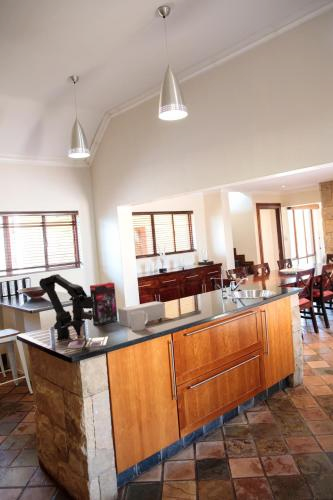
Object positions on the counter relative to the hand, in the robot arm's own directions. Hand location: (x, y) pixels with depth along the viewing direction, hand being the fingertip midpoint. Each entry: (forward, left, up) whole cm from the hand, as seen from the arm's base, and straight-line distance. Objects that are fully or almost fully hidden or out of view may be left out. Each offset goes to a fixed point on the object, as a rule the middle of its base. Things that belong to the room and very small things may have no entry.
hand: (79, 334), depth 216 cm
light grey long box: (+37, +39, -4) cm, 54 cm away
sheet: (+10, -6, -3) cm, 13 cm away
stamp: (0, 0, -3) cm, 3 cm away
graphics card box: (+11, +41, -3) cm, 43 cm away
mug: (+35, +14, -3) cm, 38 cm away
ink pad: (0, -11, -3) cm, 11 cm away
